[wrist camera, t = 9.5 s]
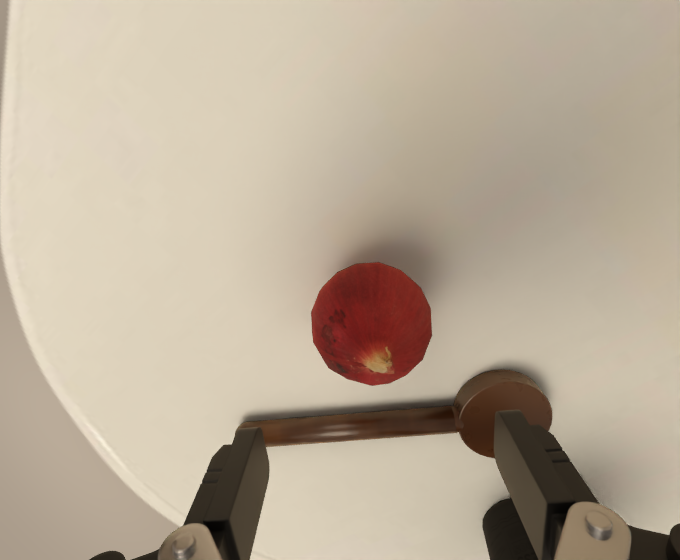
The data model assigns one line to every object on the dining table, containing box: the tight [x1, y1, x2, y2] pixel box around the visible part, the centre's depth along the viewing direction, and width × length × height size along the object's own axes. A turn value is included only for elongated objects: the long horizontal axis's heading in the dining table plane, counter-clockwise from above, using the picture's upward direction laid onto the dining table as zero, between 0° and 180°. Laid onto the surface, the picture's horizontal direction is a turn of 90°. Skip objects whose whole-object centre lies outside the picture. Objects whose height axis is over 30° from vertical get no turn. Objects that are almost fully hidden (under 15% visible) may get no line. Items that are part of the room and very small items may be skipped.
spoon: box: [235, 370, 552, 458], centre depth 25 cm, size 6×20×2 cm, turn 97°
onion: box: [311, 262, 432, 386], centre depth 19 cm, size 6×6×8 cm
